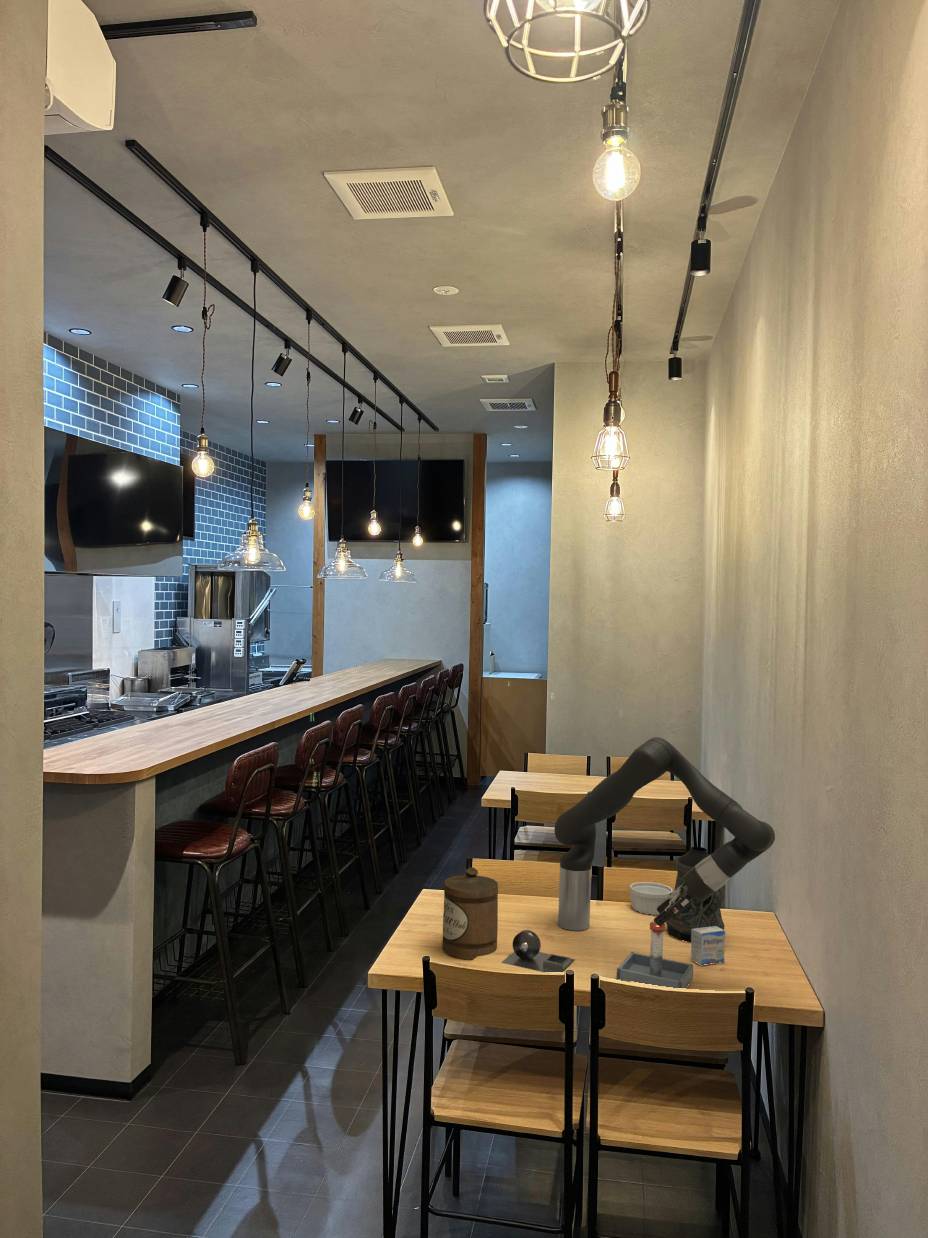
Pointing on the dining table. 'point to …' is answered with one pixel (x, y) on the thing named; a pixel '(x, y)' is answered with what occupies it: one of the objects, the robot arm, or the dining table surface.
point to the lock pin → (656, 949)
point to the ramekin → (648, 896)
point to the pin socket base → (535, 955)
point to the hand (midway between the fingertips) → (657, 917)
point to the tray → (639, 969)
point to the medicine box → (707, 945)
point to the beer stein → (695, 901)
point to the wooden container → (470, 915)
